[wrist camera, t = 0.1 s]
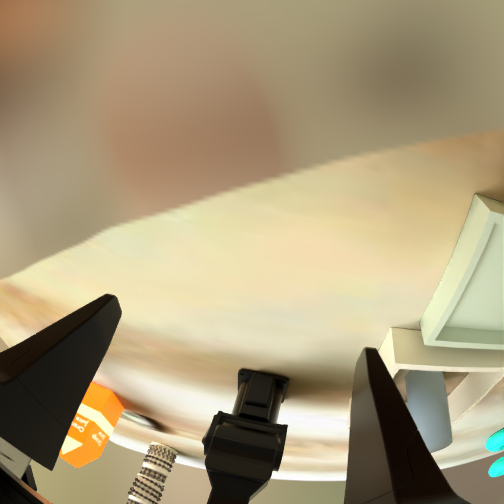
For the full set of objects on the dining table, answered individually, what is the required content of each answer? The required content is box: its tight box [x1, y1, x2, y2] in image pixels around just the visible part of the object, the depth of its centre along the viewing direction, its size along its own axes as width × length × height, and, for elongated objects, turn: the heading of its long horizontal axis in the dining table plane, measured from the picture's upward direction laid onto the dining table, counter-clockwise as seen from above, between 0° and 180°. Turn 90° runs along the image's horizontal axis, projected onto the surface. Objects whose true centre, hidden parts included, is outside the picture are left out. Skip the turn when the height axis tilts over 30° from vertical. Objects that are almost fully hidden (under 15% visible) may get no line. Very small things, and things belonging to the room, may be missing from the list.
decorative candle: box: [127, 442, 178, 504], centre depth 63 cm, size 9×9×25 cm
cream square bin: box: [348, 327, 504, 429], centre depth 29 cm, size 16×16×4 cm
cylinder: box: [405, 370, 452, 453], centre depth 27 cm, size 5×5×10 cm
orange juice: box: [60, 382, 124, 468], centre depth 50 cm, size 8×9×20 cm
